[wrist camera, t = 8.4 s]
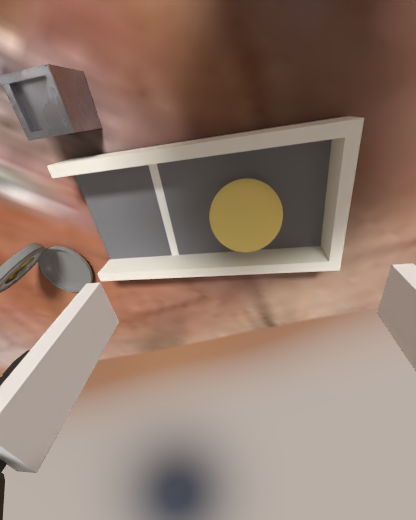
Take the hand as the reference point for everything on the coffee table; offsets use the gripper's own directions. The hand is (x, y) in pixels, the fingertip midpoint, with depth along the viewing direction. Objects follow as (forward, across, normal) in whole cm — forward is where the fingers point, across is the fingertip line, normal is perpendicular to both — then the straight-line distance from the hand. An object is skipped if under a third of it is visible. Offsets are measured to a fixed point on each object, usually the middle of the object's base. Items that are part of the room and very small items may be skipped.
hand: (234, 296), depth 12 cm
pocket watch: (+15, -22, -5) cm, 27 cm away
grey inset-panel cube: (+14, -13, +10) cm, 22 cm away
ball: (+13, +1, 0) cm, 13 cm away
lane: (+14, -3, 0) cm, 14 cm away
